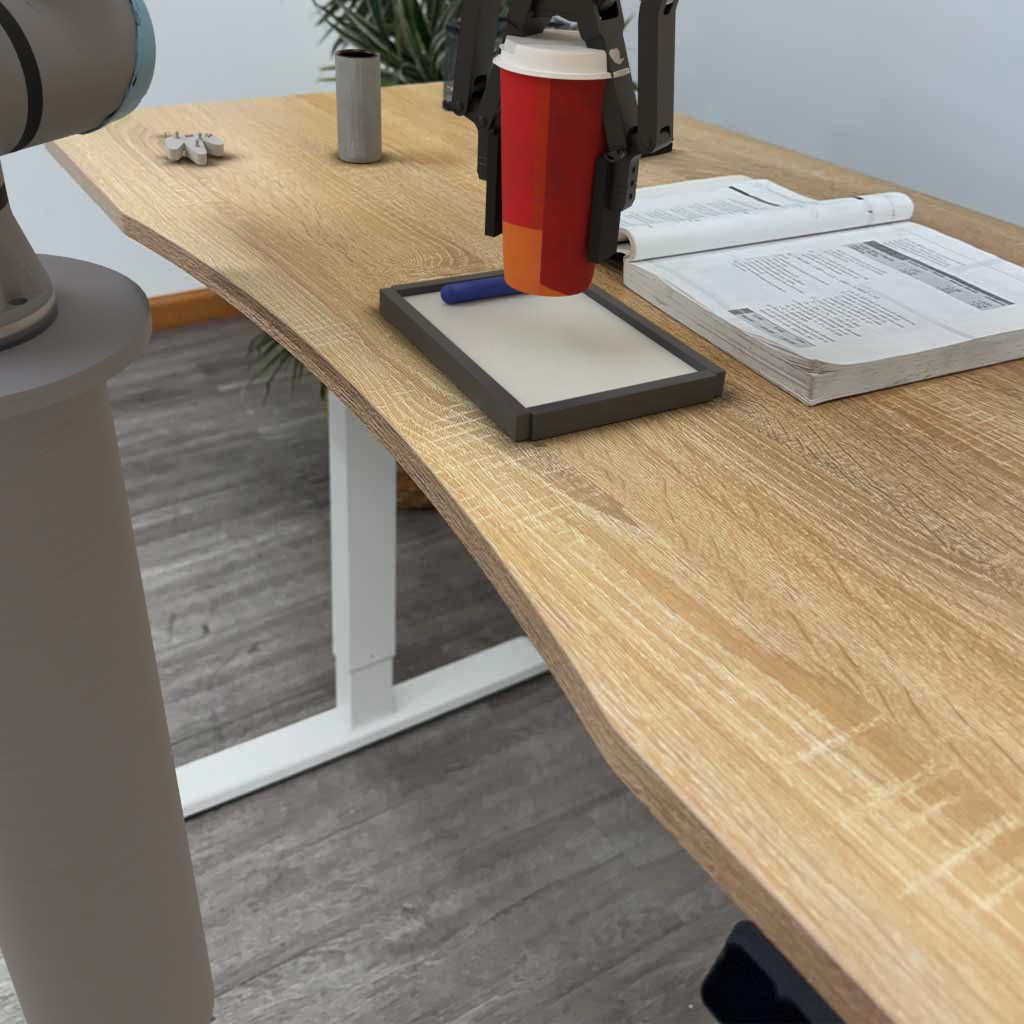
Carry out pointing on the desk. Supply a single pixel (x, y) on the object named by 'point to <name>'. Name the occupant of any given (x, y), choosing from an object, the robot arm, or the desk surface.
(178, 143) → the game controller
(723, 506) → the desk surface
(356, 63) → the grey cylindrical container
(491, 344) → the whiteboard
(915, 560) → the desk surface
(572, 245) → the coffee cup
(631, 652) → the desk surface
